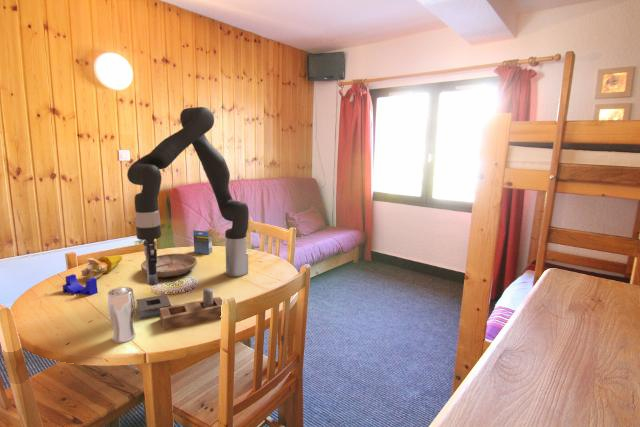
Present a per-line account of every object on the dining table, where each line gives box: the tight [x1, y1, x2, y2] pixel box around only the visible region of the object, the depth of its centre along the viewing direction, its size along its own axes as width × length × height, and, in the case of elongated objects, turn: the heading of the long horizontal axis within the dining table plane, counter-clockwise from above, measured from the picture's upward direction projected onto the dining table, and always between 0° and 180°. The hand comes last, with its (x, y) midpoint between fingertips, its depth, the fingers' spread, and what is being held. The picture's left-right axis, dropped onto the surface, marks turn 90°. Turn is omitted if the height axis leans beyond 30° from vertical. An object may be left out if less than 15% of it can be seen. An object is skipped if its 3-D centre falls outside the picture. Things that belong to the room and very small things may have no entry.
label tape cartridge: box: [192, 230, 213, 255], centre depth 191 cm, size 9×4×12 cm, turn 77°
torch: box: [80, 254, 123, 280], centre depth 159 cm, size 8×8×25 cm
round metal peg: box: [145, 254, 159, 287], centre depth 124 cm, size 3×3×11 cm
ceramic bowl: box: [140, 253, 198, 278], centre depth 163 cm, size 23×24×5 cm
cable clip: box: [62, 273, 98, 297], centre depth 139 cm, size 12×4×6 cm, turn 72°
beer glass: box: [107, 286, 136, 344], centre depth 108 cm, size 7×7×15 cm
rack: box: [159, 287, 223, 331], centre depth 122 cm, size 20×8×9 cm, turn 121°
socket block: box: [135, 294, 172, 320], centre depth 127 cm, size 10×10×3 cm
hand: (152, 272), depth 124 cm, fingers closed on round metal peg, 3 cm apart
